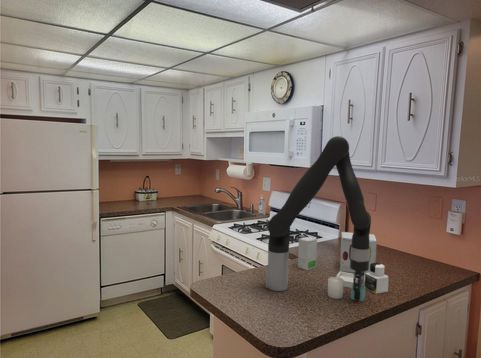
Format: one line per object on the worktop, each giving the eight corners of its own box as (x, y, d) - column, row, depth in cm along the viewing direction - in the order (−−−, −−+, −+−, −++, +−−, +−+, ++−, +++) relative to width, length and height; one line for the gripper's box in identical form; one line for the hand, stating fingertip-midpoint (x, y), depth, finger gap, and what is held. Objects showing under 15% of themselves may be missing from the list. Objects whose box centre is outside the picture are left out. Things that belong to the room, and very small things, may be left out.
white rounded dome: (326, 296, 151) (326, 280, 151) (329, 291, 157) (330, 276, 156) (341, 299, 148) (342, 283, 148) (344, 294, 154) (344, 278, 153)
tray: (334, 284, 165) (334, 279, 164) (339, 276, 175) (339, 271, 175) (361, 289, 159) (361, 284, 159) (364, 280, 170) (365, 275, 170)
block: (350, 299, 149) (351, 287, 149) (352, 294, 154) (353, 283, 153) (363, 301, 147) (363, 289, 147) (364, 297, 152) (365, 285, 151)
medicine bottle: (364, 288, 161) (365, 262, 160) (376, 285, 164) (377, 260, 163) (375, 294, 155) (377, 267, 154) (388, 291, 157) (389, 265, 156)
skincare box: (306, 270, 183) (307, 241, 181) (296, 267, 188) (297, 238, 186) (316, 267, 188) (317, 238, 187) (306, 264, 193) (307, 236, 192)
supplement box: (339, 271, 182) (341, 237, 180) (339, 263, 195) (341, 231, 193) (375, 275, 177) (377, 240, 176) (373, 267, 190) (374, 234, 188)
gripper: (353, 252, 157) (351, 289, 158) (347, 261, 144) (345, 301, 146) (371, 254, 154) (369, 292, 155) (366, 264, 141) (365, 305, 142)
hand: (358, 296), depth 150 cm, fingers closed on block, 5 cm apart
